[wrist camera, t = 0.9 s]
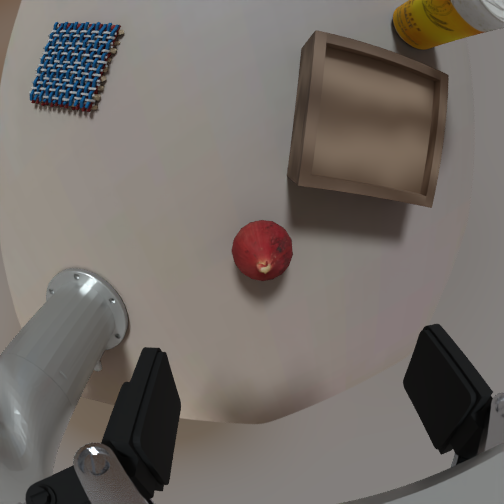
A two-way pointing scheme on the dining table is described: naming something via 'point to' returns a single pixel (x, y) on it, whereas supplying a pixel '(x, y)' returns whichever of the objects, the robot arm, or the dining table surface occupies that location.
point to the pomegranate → (262, 250)
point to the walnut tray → (367, 121)
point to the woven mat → (74, 65)
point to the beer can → (446, 20)
